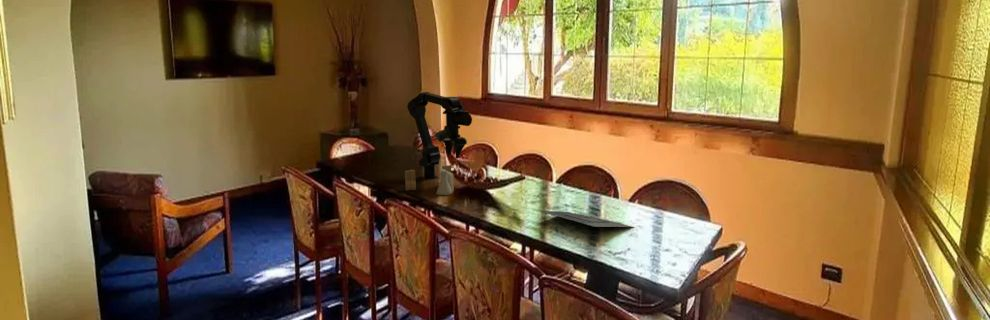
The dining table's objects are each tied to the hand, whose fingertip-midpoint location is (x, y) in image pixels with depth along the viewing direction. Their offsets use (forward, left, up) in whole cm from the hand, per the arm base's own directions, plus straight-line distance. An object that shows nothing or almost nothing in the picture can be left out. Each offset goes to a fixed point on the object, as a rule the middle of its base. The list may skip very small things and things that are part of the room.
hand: (453, 156), depth 294 cm
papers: (+81, +17, -14) cm, 84 cm away
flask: (+15, -11, -13) cm, 23 cm away
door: (+8, -8, -13) cm, 17 cm away
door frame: (+1, -13, -13) cm, 18 cm away
